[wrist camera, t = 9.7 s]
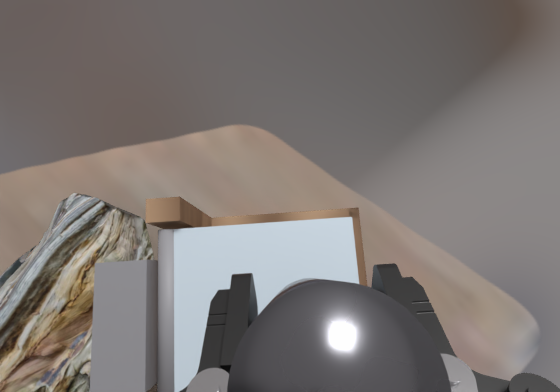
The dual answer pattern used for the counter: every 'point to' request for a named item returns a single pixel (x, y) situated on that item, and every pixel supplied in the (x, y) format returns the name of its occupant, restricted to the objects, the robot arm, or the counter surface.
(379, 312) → the cylinder
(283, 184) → the counter surface
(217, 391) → the robot arm
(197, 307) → the trapdoor
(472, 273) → the counter surface
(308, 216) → the stand
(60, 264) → the rock
